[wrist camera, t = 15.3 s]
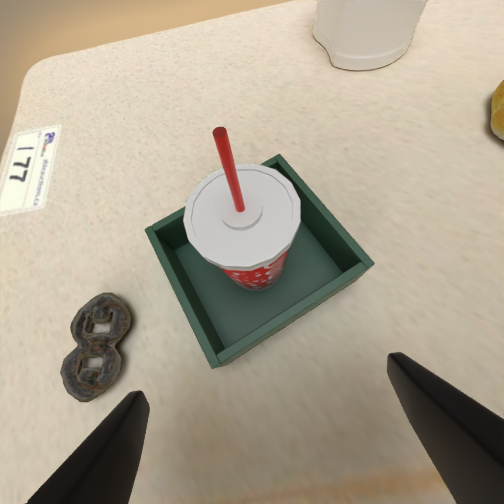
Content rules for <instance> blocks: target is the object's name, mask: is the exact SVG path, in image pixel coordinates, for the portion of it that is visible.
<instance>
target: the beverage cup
mask: <svg viewBox="0 0 504 504" xmlns="http://www.w3.org/2000/svg"><path fill="white" fill-rule="evenodd" d="M213 137H214V140H215V143H216V146H217V149H218V153H219V156H220V159H221V162H222V166H223V168H221V169H218V170H215V171H213V172H212V173H211V174H210V175H208V176H207V177H206V178H204V179H203V180H202V181H200V182H199V183H198V184H197V185H196V187H195V189H194V190H193V192H192V193H191V195H190V196H189V198H188V200H187V202H186V208H185V213H184V219H183V222H184V225H185V229H186V233H187V237H188V240H189V241H190V243H191V244H192V245H193V246H194V247H195V248H196V249H197V251H198V252H199V253H200V254H201V255H202V256H203V257H204V258H205V259H206V260H207V261H208V262H210V263H213V264H215V265H217V266H219V267H220V268H221V269H222V270H223V271H224V272H225V273H226V274H227V275H228V276H229V277H230V278H231V279H232V280H233V281H234V282H235V283H236V284H237V285H238V286H239V287H241V288H244V289H246V290H248V291H263V290H265V289H268V288H271V287H272V286H273V285H274V284H275V283H276V282H277V281H278V280H279V278H280V276H281V274H282V271H283V268H284V264H285V260H286V257H287V253H288V249H289V248H290V246H291V244H292V242H293V240H294V237H295V235H296V233H297V231H298V229H299V225H300V199H299V197H298V195H297V193H296V191H295V189H294V187H293V185H292V183H291V182H290V181H289V180H288V179H286V178H285V177H284V176H283V175H282V174H280V173H279V172H278V171H277V170H275V169H272V168H269V167H266V166H263V165H260V164H257V163H244V164H235V163H234V159H233V155H232V151H231V147H230V143H229V139H228V134H227V130H226V129H225V128H224V127H217V128H215V129H214V130H213Z"/></svg>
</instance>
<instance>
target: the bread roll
mask: <svg viewBox="0 0 504 504" xmlns="http://www.w3.org/2000/svg"><path fill="white" fill-rule="evenodd" d="M491 109H492V110H491V113H492V116H491V129H492V131H493V133H494V134H495V135H497V136H498V137H499V139H502V140H503V141H504V80H503V81H502V82H501V83H500V85H499V86H498V87H497V89H496V91H495V93H494V95H493V98H492V102H491Z"/></svg>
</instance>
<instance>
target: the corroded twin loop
mask: <svg viewBox="0 0 504 504" xmlns="http://www.w3.org/2000/svg"><path fill="white" fill-rule="evenodd" d="M91 313H93V315H92V319H91V318H89V317H90V315H91ZM112 314H113V317H112V322H111V327H110V331H109V333H89V331H90V330H91V327H92V325H91V323H98V324H101V323H105V322H107V321H108V319H109V318H111V316H112ZM130 323H131V316H130V314H129V312H128V309H127V307H126V305H125V304H124V302H123V301H122V300H121V299H120V298H119V297H117V296H116V295H115V294H113V293H102V294H100V295H98V296H96V297H94V298H93V299H91V300H90V301H89V302H88V303H87V304H85V305H84V306H83V307H82V308H81V309H80V310H79V311H78V312H77V314H76V316H75V317H74V319H73V321H72V323H71V327H70V328H71V333H72V335H73V338H74V340H75V341H76V342H77V344H78V346H77V347H76V348H75V349H74V350H73V351H72V352H71V353H70V354H68V355H67V356H66V358H65V359H64V361H63V364H62V368H61V372H60V373H61V376H62V378H63V384H64V386H65V388H66V391H67V392H68V394H70V395H72V396H73V397H74V398H75V399H77V400H78V401H79V402H89V401H91V400H93V399H94V398H96V397H98V396H99V395H101V394H103V393H104V392H105V391H106V390H107V389H108V388H109V387H110V386H111V385H112V384H113V382H114V380H115V379H116V378H117V376H118V375H119V372H120V369H121V364H122V360H121V357H120V354H119V352H118V351H117V350H116V349H115V345H116V343H117V342H118V341H119V340H120V339H121V338H122V337H123V336H124V334H125V333H126V332H127V331H128V330H129V328H130ZM84 357H90V358H95V357H102V358H103V365H102V370H101V372H100V368H81V366H82V358H84Z"/></svg>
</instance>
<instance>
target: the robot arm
mask: <svg viewBox="0 0 504 504" xmlns="http://www.w3.org/2000/svg"><path fill="white" fill-rule="evenodd" d="M387 373H388V377H389V379H390V381H391V383H392V385H393V387H394V390H395V392H396V394H397V396H398V398H399V400H400V403H401V405H402V407H403V409H404V411H405V413H406V416H407V418H408V420H409V422H410V424H411V425H412V427H413V429H414V431H415V433H416V434H417V436H418V438H419V439H420V441H421V443H422V445H423V446H424V448H425V450H426V451H427V453H428V455H429V457H430V458H431V460H432V462H433V464H434V465H435V467H436V469H437V470H438V472H439V474H440V476H441V477H442V479H443V481H444V482H445V484H446V486H447V488H448V489H449V491H450V493H451V494H452V496H453V498H454V500H455V501H456V503H457V504H504V419H503V418H501V417H500V416H498V415H497V414H495V413H493V412H492V411H490V410H489V409H487V408H486V407H484V406H483V405H481V404H480V403H478V402H477V401H475V400H474V399H472V398H471V397H469V396H467V395H466V394H464V393H463V392H461V391H460V390H458V389H457V388H455V387H454V386H452V385H451V384H449V383H448V382H446V381H444V380H443V379H441V378H440V377H438V376H437V375H435V374H434V373H432V372H431V371H429V370H428V369H426V368H425V367H423V366H421V365H420V364H418V363H417V362H415V361H414V360H412V359H411V358H409V357H408V356H406V355H405V354H403V353H401V352H395V353H390V354H388V360H387ZM149 412H150V407H149V403H148V401H147V399H146V397H145V395H144V393H143V392H142V391H140V390H139V391H133V392H130V393H129V394H127V396H126V397H125V398H124V399H123V400H122V401H121V402H120V403H119V404H118V405H117V406H116V407H115V408H114V409H113V410H112V412H111V413H110V414H109V415H108V416H107V417H106V418H105V419H104V420H103V421H102V422H101V423H100V424H99V425H98V426H97V427H96V429H95V430H94V431H93V432H92V433H91V434H90V435H89V436H88V437H87V438H86V439H85V440H84V441H83V442H82V443H81V445H80V446H79V447H78V448H77V449H76V450H75V451H74V452H73V453H72V454H71V455H70V456H69V457H68V458H67V459H66V461H65V462H64V463H63V464H62V465H61V466H60V467H59V468H58V469H57V470H56V471H55V472H54V473H53V474H52V475H51V476H50V478H49V479H48V480H47V481H46V482H45V483H44V484H43V485H42V486H41V487H40V488H39V489H38V490H37V491H36V492H35V494H34V495H33V496H32V497H31V498H30V499H29V500H28V502H27V503H25V504H128V503H129V499H130V495H131V492H132V488H133V485H134V481H135V478H136V474H137V470H138V467H139V463H140V459H141V454H142V449H143V444H144V439H145V433H146V428H147V423H148V417H149Z"/></svg>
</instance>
